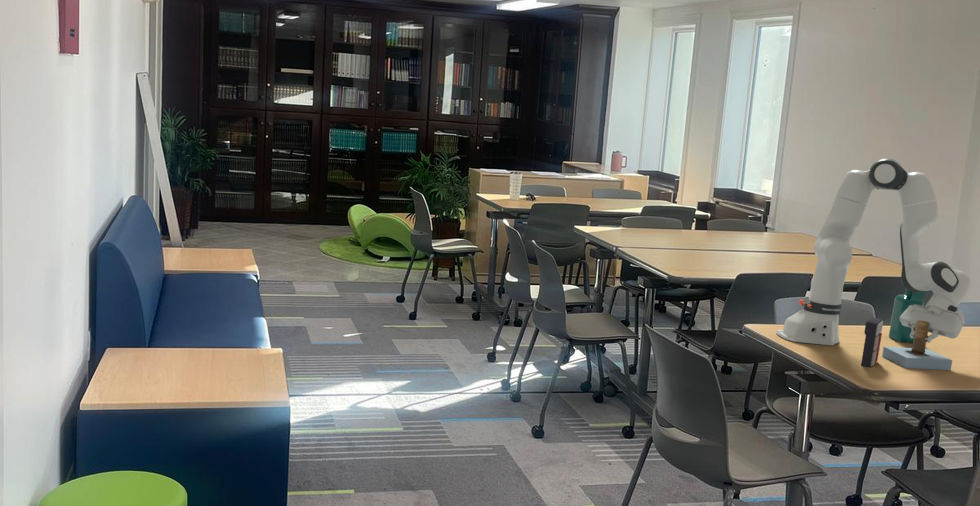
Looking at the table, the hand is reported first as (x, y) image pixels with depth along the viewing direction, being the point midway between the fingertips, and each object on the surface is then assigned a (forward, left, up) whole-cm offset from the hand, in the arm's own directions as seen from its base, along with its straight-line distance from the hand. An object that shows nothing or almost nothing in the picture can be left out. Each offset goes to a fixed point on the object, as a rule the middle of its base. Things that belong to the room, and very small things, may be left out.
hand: (919, 339), depth 318 cm
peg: (+1, 0, -8) cm, 8 cm away
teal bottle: (+16, +33, -9) cm, 38 cm away
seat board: (0, 0, -9) cm, 9 cm away
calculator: (-20, -4, -9) cm, 22 cm away
